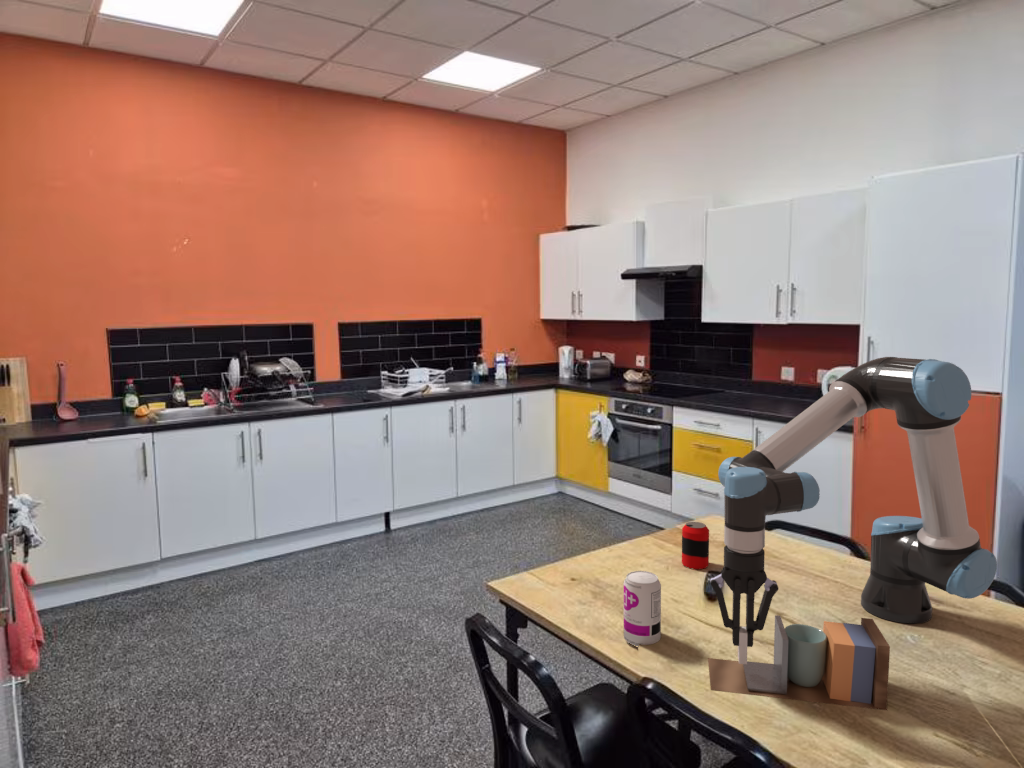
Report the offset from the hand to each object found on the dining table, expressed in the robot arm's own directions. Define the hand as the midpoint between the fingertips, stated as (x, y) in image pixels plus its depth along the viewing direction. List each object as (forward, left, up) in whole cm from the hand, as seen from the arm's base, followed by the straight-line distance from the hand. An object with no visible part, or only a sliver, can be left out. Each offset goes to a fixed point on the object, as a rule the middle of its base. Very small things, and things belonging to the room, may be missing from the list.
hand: (742, 660), depth 132 cm
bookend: (-4, 0, -3) cm, 5 cm away
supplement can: (+20, -13, -5) cm, 24 cm away
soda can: (+7, -61, -5) cm, 61 cm away
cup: (-12, 0, -4) cm, 12 cm away
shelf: (-9, 0, -5) cm, 10 cm away
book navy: (-21, 0, -3) cm, 21 cm away
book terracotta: (-17, 0, -3) cm, 17 cm away
